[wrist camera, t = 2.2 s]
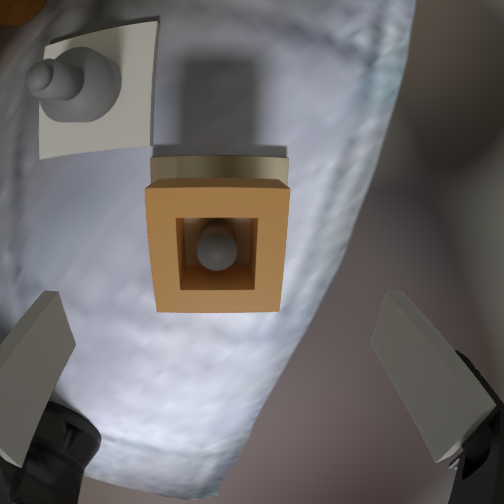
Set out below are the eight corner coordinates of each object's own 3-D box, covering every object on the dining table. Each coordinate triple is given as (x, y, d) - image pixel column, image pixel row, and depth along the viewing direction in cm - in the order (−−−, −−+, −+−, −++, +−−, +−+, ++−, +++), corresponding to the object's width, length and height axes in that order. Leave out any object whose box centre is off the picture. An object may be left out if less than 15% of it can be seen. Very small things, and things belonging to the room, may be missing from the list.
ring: (165, 285, 21) (157, 312, 18) (157, 178, 18) (144, 188, 15) (271, 285, 22) (279, 311, 19) (278, 179, 19) (290, 188, 16)
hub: (44, 158, 22) (-20, 176, 13) (50, 48, 18) (-9, 28, 8) (152, 145, 24) (113, 154, 14) (159, 24, 19) (129, -24, 10)
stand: (158, 259, 28) (133, 318, 19) (152, 156, 24) (113, 171, 15) (279, 259, 29) (304, 317, 20) (286, 157, 25) (323, 172, 16)
